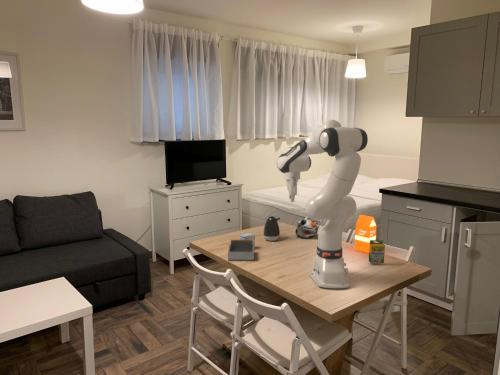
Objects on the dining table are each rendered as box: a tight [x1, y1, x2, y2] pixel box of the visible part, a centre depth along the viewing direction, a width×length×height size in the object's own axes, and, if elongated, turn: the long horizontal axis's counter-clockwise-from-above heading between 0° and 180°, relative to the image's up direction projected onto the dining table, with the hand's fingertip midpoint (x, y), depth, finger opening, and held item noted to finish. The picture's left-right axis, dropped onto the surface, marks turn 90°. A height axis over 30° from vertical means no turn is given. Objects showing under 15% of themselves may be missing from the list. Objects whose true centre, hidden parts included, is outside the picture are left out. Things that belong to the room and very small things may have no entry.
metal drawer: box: [227, 239, 255, 262], centre depth 206 cm, size 14×14×8 cm
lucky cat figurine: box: [294, 218, 320, 239], centre depth 243 cm, size 15×12×14 cm
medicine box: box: [239, 232, 256, 250], centre depth 219 cm, size 8×4×9 cm, turn 130°
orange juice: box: [354, 214, 377, 254], centre depth 218 cm, size 8×9×20 cm
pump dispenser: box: [263, 215, 281, 242], centre depth 237 cm, size 10×10×15 cm
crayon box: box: [368, 239, 386, 264], centre depth 198 cm, size 7×3×12 cm, turn 89°
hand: (291, 200), depth 214 cm, fingers open, 8 cm apart
